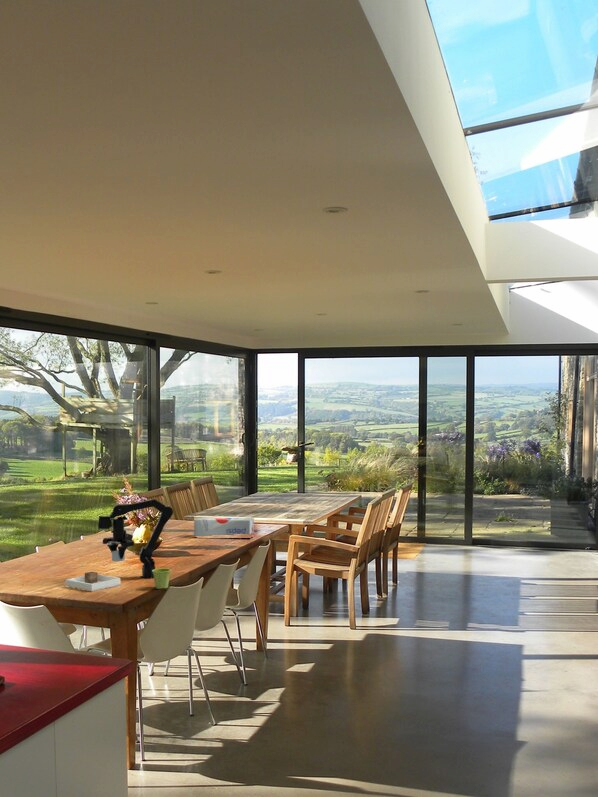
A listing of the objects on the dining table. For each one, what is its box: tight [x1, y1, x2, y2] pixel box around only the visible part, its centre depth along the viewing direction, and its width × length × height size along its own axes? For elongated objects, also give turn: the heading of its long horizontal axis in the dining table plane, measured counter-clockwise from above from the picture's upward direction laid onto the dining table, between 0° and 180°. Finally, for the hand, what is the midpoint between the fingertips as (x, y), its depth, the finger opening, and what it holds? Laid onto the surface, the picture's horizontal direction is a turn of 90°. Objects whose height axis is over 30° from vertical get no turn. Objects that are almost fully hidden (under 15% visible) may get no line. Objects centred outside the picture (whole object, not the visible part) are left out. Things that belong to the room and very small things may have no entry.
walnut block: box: [84, 571, 98, 584], centre depth 393 cm, size 4×4×5 cm
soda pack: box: [193, 517, 255, 536], centre depth 546 cm, size 41×13×14 cm, turn 80°
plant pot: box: [152, 568, 172, 590], centre depth 385 cm, size 9×9×9 cm
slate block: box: [111, 549, 126, 563], centre depth 407 cm, size 4×4×5 cm
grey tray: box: [64, 574, 121, 592], centre depth 389 cm, size 20×18×4 cm
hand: (118, 558), depth 407 cm, fingers closed on slate block, 4 cm apart
